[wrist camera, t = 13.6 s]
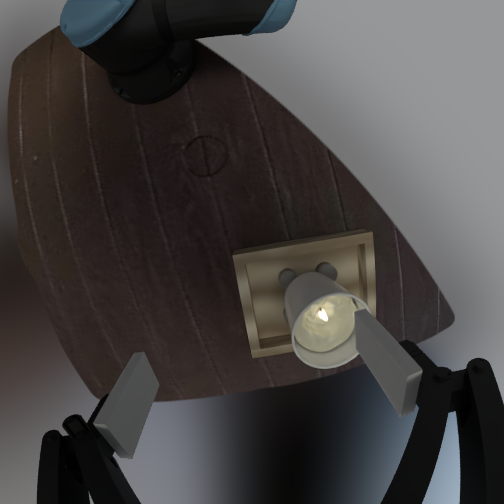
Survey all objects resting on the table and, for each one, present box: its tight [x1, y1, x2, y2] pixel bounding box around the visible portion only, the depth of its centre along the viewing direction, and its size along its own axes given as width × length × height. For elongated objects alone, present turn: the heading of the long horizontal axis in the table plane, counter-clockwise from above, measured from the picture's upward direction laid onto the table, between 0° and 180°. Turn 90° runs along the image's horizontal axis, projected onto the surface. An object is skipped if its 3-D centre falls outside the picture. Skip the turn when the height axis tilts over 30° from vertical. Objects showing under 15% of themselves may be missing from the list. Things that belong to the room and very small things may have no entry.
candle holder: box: [284, 272, 372, 369], centre depth 35 cm, size 10×10×12 cm
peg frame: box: [233, 229, 376, 358], centre depth 42 cm, size 17×21×4 cm
